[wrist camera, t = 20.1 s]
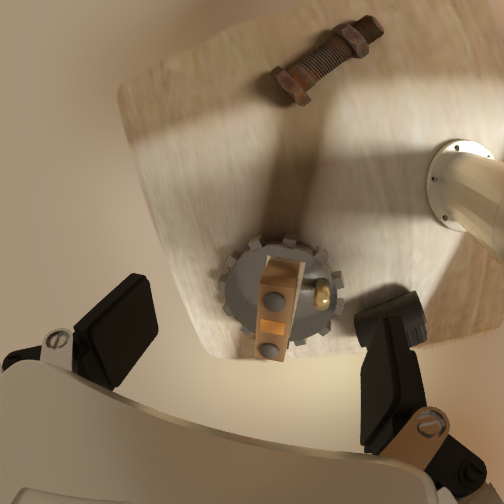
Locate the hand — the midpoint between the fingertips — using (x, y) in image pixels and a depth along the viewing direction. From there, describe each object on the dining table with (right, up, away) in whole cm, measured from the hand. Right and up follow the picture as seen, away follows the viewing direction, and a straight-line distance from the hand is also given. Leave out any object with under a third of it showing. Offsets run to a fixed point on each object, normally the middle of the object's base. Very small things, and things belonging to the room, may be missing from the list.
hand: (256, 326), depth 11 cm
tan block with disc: (+4, -4, +29) cm, 29 cm away
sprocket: (+4, -3, +31) cm, 31 cm away
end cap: (+21, -6, +30) cm, 37 cm away
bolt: (+10, +26, +17) cm, 33 cm away
